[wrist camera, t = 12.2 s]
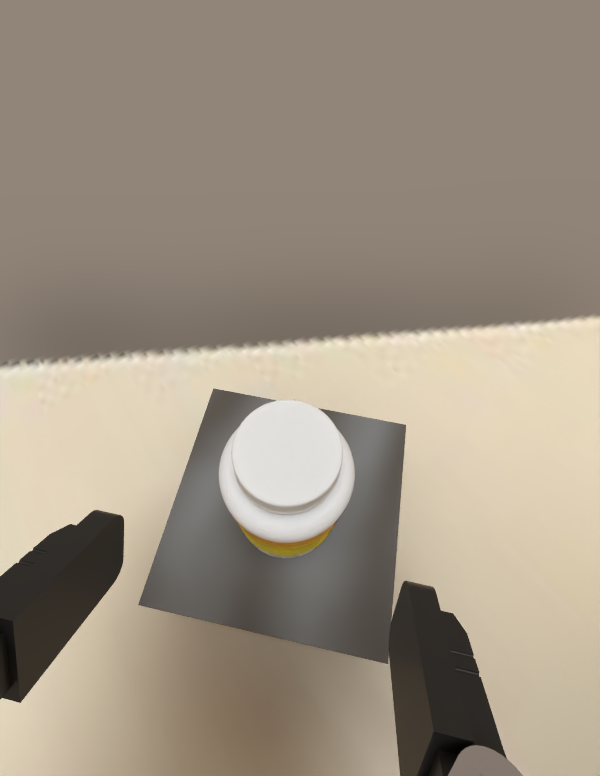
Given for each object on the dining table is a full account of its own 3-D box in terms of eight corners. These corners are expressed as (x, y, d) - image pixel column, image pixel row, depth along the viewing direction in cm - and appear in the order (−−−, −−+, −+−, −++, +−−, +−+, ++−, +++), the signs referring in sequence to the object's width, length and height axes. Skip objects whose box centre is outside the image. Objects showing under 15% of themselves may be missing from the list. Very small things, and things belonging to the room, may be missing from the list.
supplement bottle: (335, 561, 21) (370, 537, 12) (234, 557, 21) (194, 530, 12) (334, 462, 24) (363, 382, 15) (244, 459, 24) (217, 376, 15)
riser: (388, 450, 30) (406, 425, 25) (369, 650, 23) (388, 664, 19) (224, 418, 30) (213, 388, 26) (165, 602, 24) (138, 604, 20)
